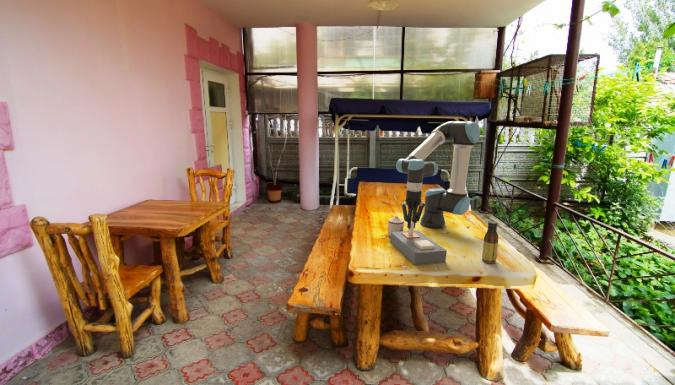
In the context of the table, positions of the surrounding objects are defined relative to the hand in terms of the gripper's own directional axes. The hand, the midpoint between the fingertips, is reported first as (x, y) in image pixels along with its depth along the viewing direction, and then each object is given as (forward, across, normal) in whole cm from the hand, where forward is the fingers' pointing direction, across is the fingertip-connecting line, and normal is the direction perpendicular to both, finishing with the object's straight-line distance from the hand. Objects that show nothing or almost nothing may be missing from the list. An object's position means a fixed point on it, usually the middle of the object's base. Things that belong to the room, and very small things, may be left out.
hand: (410, 234), depth 166 cm
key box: (+7, 0, -7) cm, 10 cm away
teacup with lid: (+7, 0, +18) cm, 19 cm away
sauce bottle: (+7, +29, -24) cm, 38 cm away
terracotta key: (+4, 0, 0) cm, 4 cm away
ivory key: (+3, 0, -14) cm, 14 cm away
